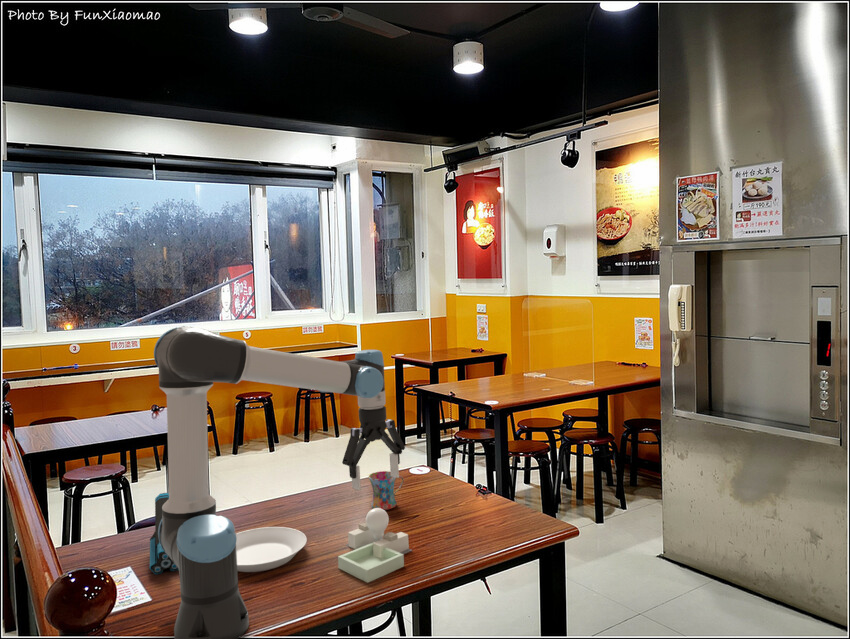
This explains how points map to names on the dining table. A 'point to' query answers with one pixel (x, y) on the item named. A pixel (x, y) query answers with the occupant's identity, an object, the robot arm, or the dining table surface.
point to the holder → (390, 541)
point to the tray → (370, 562)
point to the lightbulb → (377, 523)
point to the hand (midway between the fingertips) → (376, 482)
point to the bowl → (267, 547)
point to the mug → (383, 490)
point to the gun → (157, 554)
